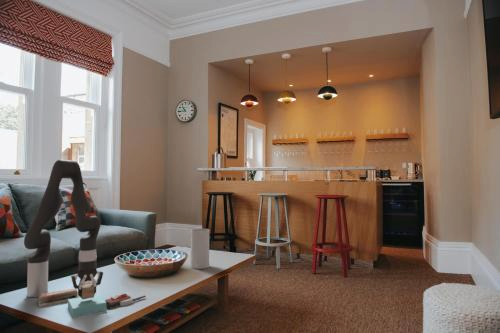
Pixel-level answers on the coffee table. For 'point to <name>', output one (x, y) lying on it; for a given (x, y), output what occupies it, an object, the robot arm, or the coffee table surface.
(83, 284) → the sitting furry creature
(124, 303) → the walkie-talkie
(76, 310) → the teal base block
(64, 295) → the packaged product
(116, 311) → the coffee table surface
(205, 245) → the cylinder vase
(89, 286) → the walnut block
